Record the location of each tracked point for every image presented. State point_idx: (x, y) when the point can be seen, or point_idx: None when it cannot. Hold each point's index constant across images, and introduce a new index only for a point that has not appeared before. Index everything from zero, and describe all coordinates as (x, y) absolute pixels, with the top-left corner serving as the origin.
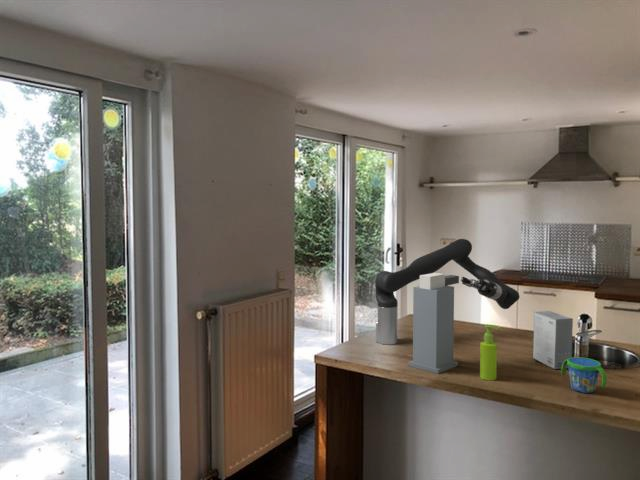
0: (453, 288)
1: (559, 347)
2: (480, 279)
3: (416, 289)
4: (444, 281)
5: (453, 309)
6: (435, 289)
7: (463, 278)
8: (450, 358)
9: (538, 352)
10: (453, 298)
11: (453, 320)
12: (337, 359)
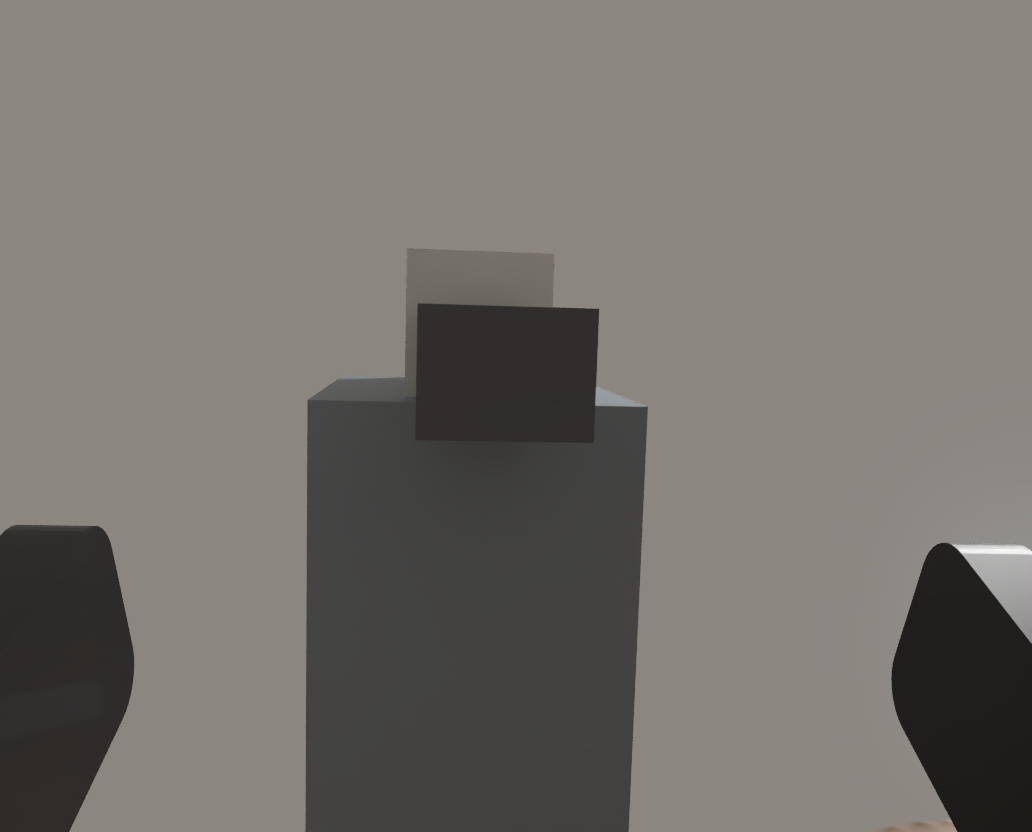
0: (309, 418)
1: None
2: (19, 539)
3: None
4: (406, 337)
5: (307, 673)
6: (379, 379)
7: (944, 619)
8: None
9: None
10: (308, 541)
11: (307, 804)
12: (909, 827)
